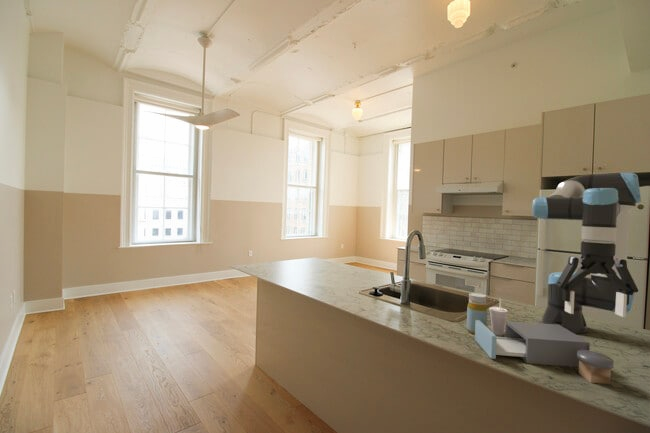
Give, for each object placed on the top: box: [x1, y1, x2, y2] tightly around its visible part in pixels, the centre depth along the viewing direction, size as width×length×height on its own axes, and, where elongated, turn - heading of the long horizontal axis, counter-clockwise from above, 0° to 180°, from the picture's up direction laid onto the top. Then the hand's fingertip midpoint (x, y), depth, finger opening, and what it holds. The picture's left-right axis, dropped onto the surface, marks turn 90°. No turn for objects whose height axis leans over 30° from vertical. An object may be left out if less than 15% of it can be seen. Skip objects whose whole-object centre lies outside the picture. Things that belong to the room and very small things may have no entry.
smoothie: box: [489, 298, 509, 336], centre depth 120 cm, size 6×6×14 cm
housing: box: [504, 320, 591, 368], centre depth 103 cm, size 18×15×8 cm
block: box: [577, 360, 612, 385], centre depth 89 cm, size 5×5×5 cm
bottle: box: [466, 292, 488, 335], centre depth 121 cm, size 7×7×15 cm
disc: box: [577, 349, 615, 370], centre depth 89 cm, size 8×8×2 cm
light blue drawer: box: [474, 320, 526, 360], centre depth 105 cm, size 18×14×7 cm
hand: (594, 314), depth 89 cm, fingers open, 13 cm apart
